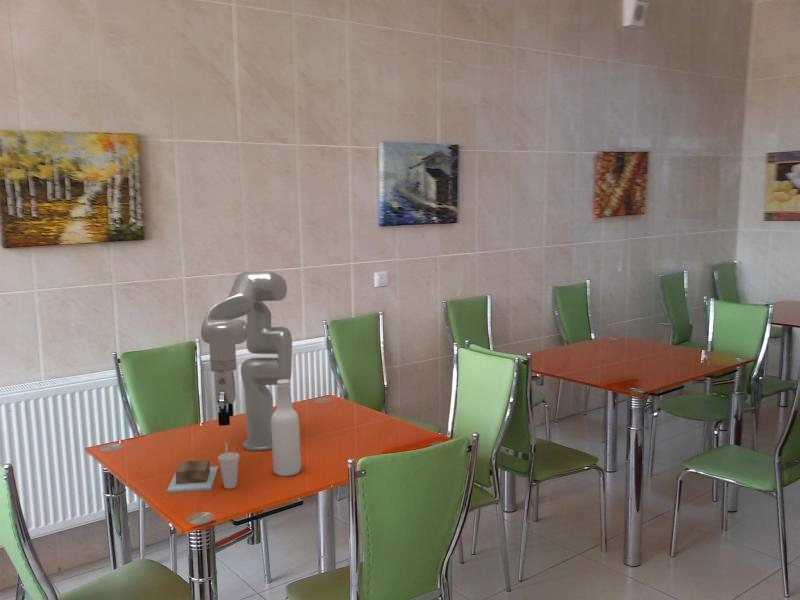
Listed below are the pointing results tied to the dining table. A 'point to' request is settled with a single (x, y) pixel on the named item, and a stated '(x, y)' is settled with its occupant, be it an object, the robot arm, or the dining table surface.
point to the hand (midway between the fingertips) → (226, 420)
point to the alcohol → (285, 433)
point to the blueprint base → (209, 482)
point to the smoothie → (229, 468)
